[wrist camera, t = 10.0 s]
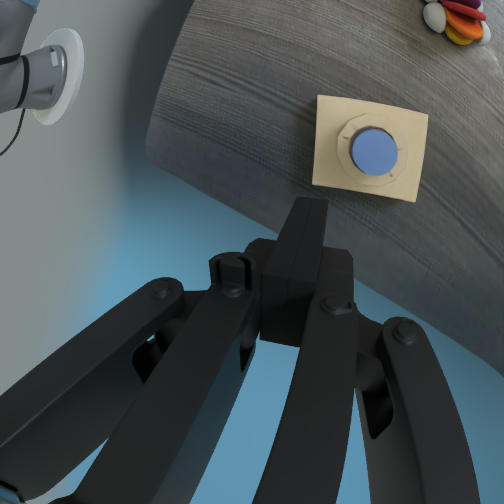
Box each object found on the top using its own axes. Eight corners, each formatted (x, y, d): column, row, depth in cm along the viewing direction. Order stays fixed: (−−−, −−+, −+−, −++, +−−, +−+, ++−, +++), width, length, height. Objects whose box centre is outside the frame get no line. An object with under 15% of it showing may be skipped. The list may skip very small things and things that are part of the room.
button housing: (314, 178, 31) (310, 188, 27) (319, 96, 26) (316, 93, 22) (410, 195, 28) (419, 208, 24) (421, 114, 23) (433, 115, 19)
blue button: (349, 167, 25) (350, 171, 24) (353, 125, 23) (354, 126, 21) (390, 174, 24) (393, 179, 23) (395, 133, 22) (400, 134, 20)
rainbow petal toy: (424, 39, 18) (444, 23, 12) (409, -24, 13) (422, -49, 7) (483, 56, 15) (512, 49, 9) (469, -7, 11) (490, -24, 5)
